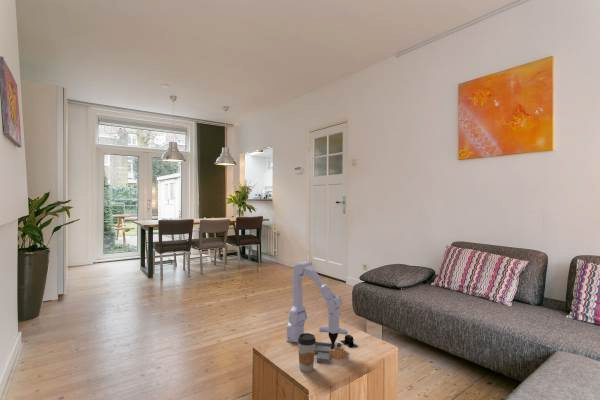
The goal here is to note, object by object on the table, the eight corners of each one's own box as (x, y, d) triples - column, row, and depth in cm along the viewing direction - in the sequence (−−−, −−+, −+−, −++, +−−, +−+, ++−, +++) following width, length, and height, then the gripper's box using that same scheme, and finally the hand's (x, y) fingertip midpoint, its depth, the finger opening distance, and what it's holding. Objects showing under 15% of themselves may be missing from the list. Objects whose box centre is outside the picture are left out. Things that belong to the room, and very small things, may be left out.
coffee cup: (299, 374, 142) (299, 341, 142) (295, 364, 150) (296, 333, 150) (317, 372, 143) (317, 339, 143) (312, 363, 152) (313, 332, 152)
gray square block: (316, 362, 153) (316, 358, 153) (318, 356, 159) (318, 352, 159) (329, 363, 152) (329, 359, 152) (330, 357, 158) (330, 353, 158)
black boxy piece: (337, 341, 177) (337, 333, 177) (347, 338, 181) (347, 330, 181) (350, 350, 166) (350, 342, 166) (361, 348, 170) (361, 339, 170)
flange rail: (310, 354, 160) (311, 348, 160) (313, 347, 168) (313, 341, 168) (343, 358, 157) (343, 351, 157) (344, 350, 165) (344, 344, 165)
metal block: (331, 352, 160) (335, 343, 159) (332, 348, 164) (336, 340, 163) (339, 356, 159) (343, 347, 159) (339, 352, 163) (343, 343, 163)
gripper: (318, 322, 160) (318, 349, 160) (347, 324, 157) (347, 352, 157) (320, 317, 167) (319, 342, 167) (348, 319, 164) (347, 345, 164)
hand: (333, 347), depth 162 cm, fingers closed, pressing on metal block
